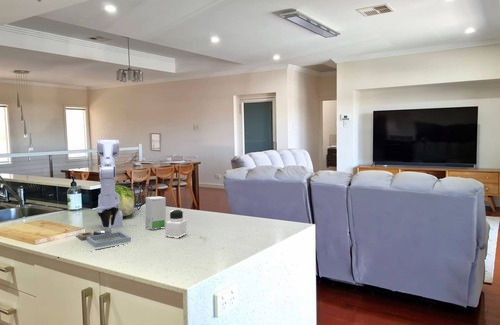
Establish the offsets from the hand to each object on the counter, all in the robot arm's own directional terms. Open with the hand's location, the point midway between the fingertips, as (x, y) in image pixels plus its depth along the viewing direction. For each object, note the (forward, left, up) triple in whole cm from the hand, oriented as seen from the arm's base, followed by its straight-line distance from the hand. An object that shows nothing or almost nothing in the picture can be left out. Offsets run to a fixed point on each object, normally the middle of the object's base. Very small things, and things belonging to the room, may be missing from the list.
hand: (108, 226), depth 165 cm
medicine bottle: (-29, +6, -8) cm, 31 cm away
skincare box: (-28, -13, -8) cm, 32 cm away
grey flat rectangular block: (+2, -12, -8) cm, 14 cm away
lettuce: (-24, -50, -8) cm, 56 cm away
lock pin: (0, 0, -3) cm, 3 cm away
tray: (0, 0, -8) cm, 8 cm away
